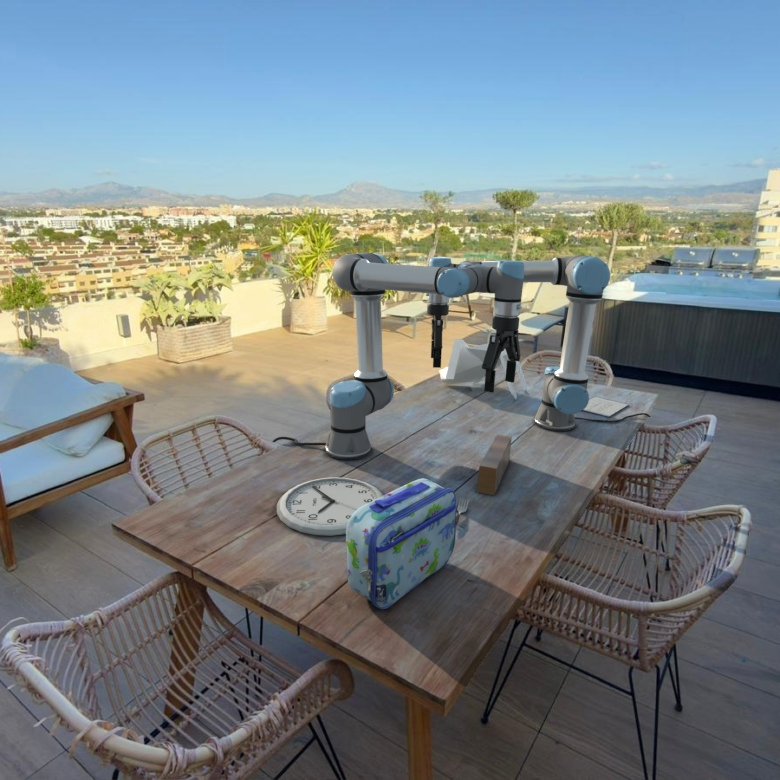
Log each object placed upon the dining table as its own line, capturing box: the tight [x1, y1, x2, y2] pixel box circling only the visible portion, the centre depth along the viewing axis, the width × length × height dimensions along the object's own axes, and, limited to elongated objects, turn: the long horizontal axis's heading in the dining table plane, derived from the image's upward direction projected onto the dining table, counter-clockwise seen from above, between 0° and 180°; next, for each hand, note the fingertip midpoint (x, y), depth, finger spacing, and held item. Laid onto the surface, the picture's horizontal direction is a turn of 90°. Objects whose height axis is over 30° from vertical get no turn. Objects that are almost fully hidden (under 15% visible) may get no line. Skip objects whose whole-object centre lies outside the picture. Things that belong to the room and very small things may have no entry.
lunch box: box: [345, 477, 457, 610], centre depth 110 cm, size 26×11×21 cm, turn 134°
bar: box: [477, 433, 513, 496], centre depth 161 cm, size 26×5×8 cm, turn 158°
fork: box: [456, 497, 470, 526], centre depth 137 cm, size 3×16×2 cm, turn 160°
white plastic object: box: [438, 313, 531, 400], centre depth 245 cm, size 37×45×31 cm
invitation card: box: [582, 396, 629, 418], centre depth 226 cm, size 21×1×15 cm
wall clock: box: [276, 476, 385, 537], centre depth 142 cm, size 30×2×30 cm
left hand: (499, 386), depth 156 cm, fingers open, 13 cm apart
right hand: (435, 362), depth 188 cm, fingers open, 13 cm apart
